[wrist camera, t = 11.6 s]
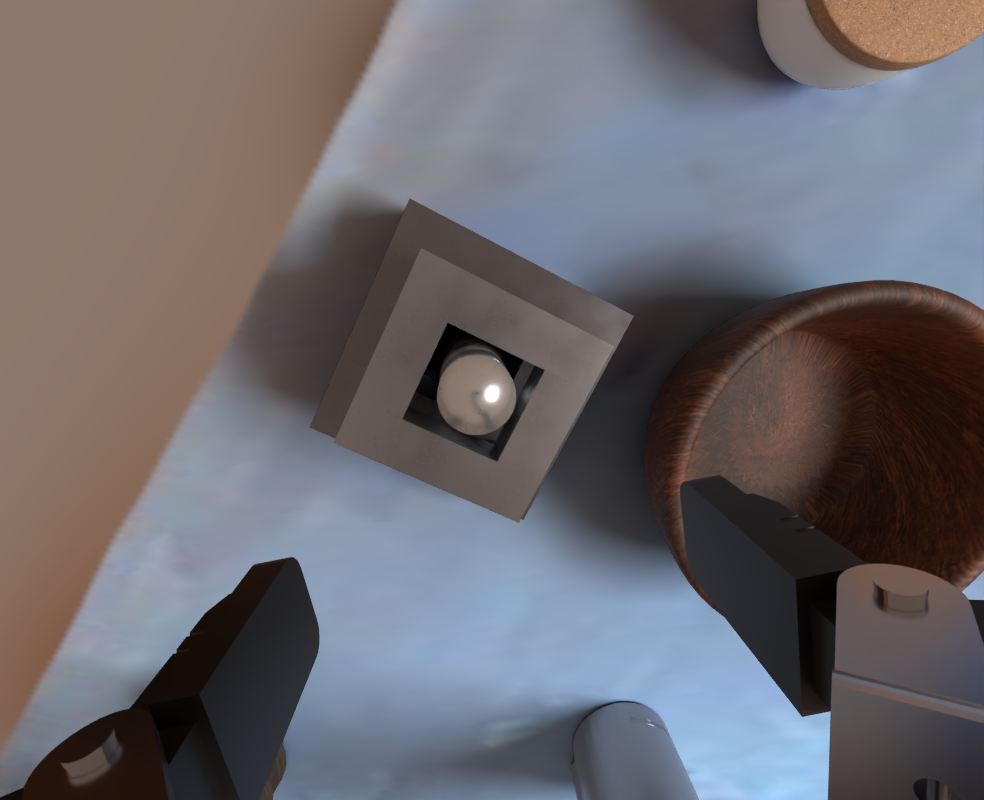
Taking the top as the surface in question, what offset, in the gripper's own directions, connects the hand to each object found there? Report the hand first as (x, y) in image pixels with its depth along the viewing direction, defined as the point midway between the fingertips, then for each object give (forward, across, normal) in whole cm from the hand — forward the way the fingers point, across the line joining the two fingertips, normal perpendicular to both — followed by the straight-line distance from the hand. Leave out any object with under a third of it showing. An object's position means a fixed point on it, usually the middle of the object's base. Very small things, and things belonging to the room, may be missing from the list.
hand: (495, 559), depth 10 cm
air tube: (+29, 0, 0) cm, 29 cm away
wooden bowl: (+30, -23, +11) cm, 39 cm away
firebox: (+29, 0, 0) cm, 29 cm away
